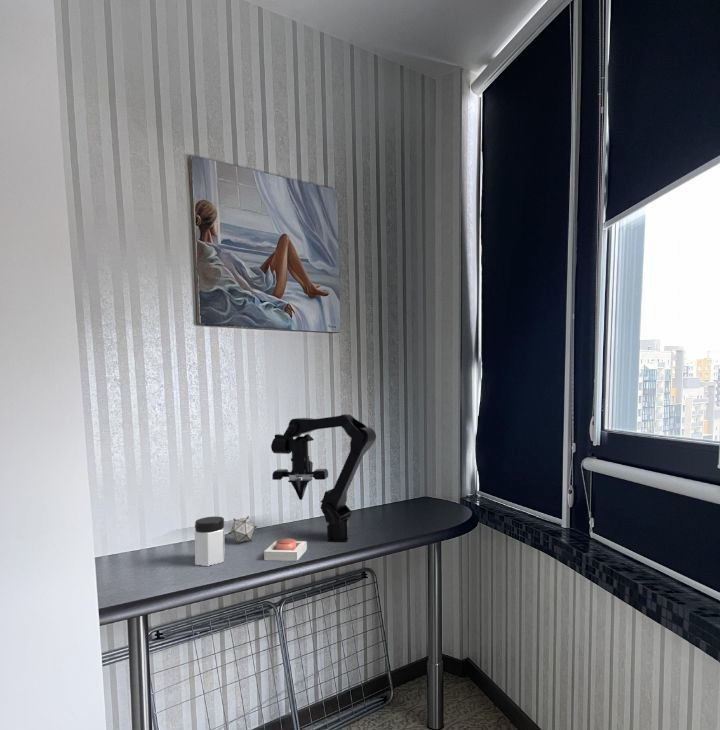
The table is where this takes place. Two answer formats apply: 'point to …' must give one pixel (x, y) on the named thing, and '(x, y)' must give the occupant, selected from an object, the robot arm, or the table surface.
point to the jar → (209, 541)
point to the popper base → (285, 552)
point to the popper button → (286, 544)
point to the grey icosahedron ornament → (242, 530)
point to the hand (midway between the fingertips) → (301, 499)
